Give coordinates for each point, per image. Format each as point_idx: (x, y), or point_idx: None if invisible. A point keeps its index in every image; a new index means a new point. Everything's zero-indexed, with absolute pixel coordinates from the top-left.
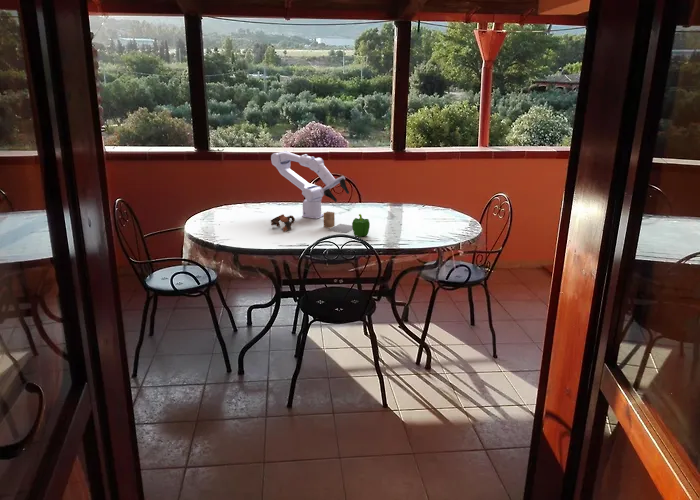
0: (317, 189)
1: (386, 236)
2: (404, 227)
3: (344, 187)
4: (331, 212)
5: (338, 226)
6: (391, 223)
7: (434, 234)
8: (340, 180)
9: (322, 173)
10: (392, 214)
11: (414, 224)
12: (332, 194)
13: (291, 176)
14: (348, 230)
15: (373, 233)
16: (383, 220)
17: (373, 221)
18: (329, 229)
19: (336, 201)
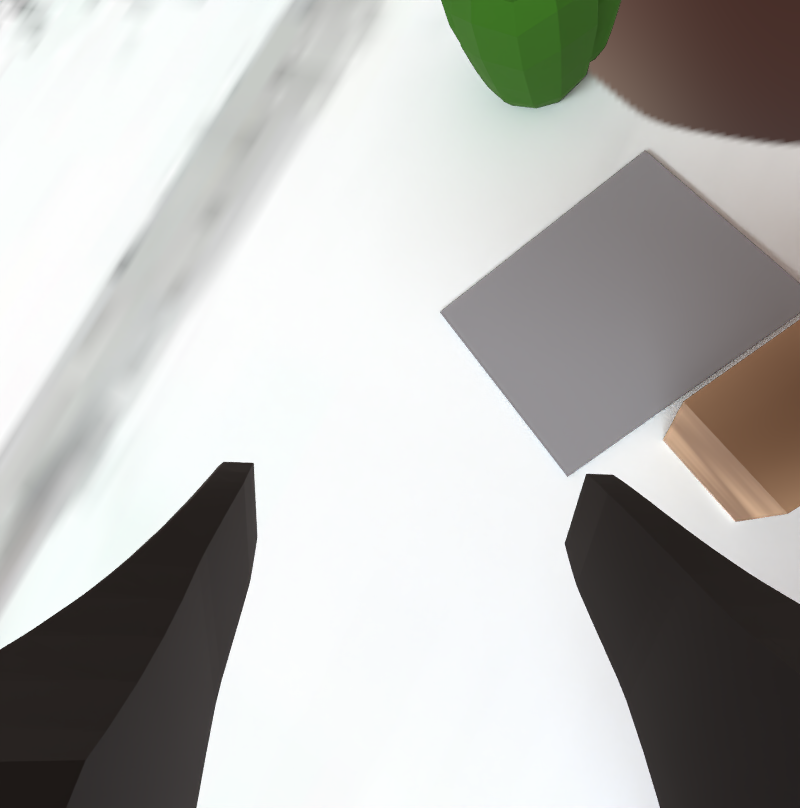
0: None
1: (367, 15)
2: (147, 191)
3: (204, 585)
4: (738, 416)
5: (634, 378)
6: (155, 313)
7: (108, 22)
8: (59, 800)
9: None
10: (3, 553)
11: (60, 239)
12: (691, 575)
13: None
14: (589, 210)
15: (414, 98)
16: (153, 416)
17: (231, 423)
18: (798, 301)
19: (574, 534)
